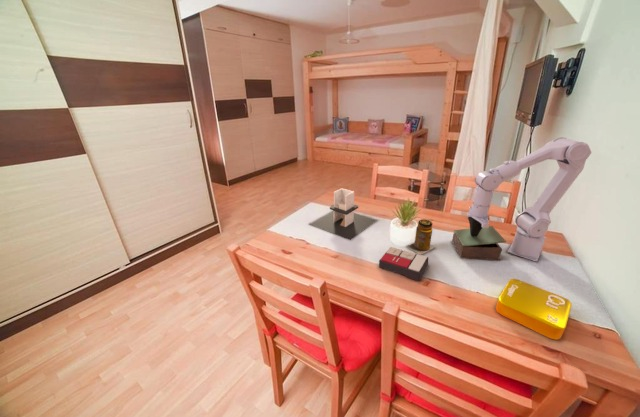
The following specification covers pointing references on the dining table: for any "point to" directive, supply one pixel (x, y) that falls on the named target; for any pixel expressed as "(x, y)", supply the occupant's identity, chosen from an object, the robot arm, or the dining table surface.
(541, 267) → the dining table surface
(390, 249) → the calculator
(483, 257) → the brown box
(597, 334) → the dining table surface
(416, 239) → the condiment
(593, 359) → the dining table surface
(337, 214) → the candle holder
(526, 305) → the element tile
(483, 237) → the sage green tile
